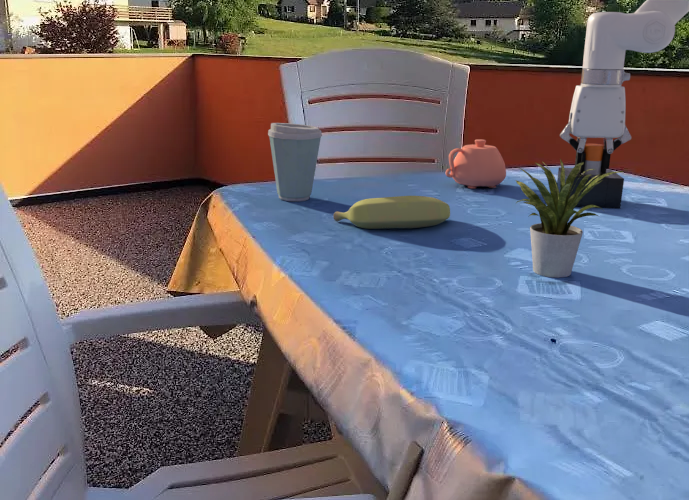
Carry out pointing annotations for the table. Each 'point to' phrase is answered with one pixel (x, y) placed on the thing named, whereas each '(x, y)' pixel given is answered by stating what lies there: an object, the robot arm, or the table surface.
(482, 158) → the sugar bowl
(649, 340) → the table surface
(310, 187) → the disposable coffee cup
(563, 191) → the house plant
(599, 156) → the orange-capped white cylinder
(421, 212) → the banana
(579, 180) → the holder
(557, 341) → the table surface
